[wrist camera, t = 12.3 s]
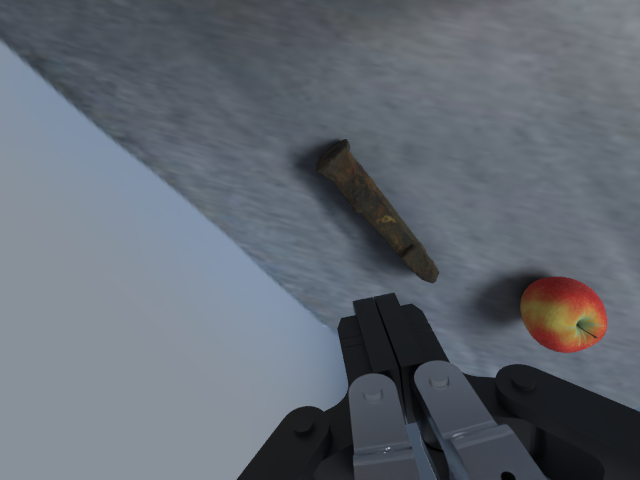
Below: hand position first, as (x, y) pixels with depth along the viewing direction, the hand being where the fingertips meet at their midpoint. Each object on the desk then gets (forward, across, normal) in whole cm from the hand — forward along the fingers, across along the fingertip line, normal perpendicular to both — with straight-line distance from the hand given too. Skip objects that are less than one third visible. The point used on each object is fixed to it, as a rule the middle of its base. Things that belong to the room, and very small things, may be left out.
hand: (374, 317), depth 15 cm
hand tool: (+30, -6, +9) cm, 31 cm away
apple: (+29, -24, +24) cm, 45 cm away
